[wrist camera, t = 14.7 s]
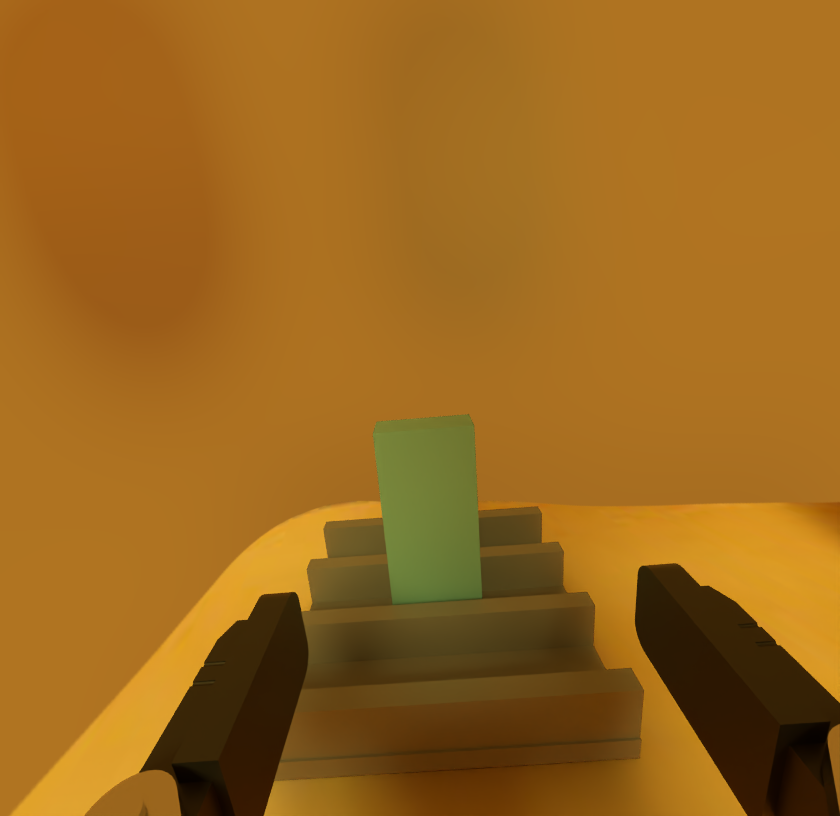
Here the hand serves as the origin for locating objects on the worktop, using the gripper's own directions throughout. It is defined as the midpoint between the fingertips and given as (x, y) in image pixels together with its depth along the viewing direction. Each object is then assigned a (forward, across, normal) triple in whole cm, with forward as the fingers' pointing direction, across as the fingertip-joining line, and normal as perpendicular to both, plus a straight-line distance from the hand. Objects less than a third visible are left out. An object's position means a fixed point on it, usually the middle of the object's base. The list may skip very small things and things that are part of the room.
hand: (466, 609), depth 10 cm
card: (+12, +1, +11) cm, 16 cm away
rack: (+12, +1, +12) cm, 17 cm away
